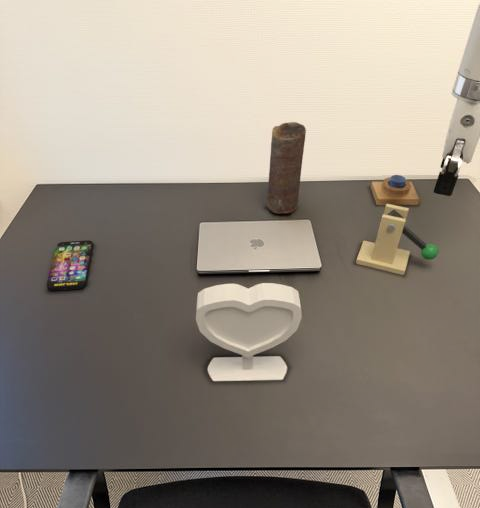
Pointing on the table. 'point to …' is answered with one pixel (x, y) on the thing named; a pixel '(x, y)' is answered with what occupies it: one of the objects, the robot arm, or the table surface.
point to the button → (397, 181)
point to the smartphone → (70, 265)
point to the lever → (418, 240)
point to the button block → (394, 193)
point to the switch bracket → (386, 244)
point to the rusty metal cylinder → (285, 167)
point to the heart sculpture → (248, 327)
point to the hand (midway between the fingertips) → (445, 180)
